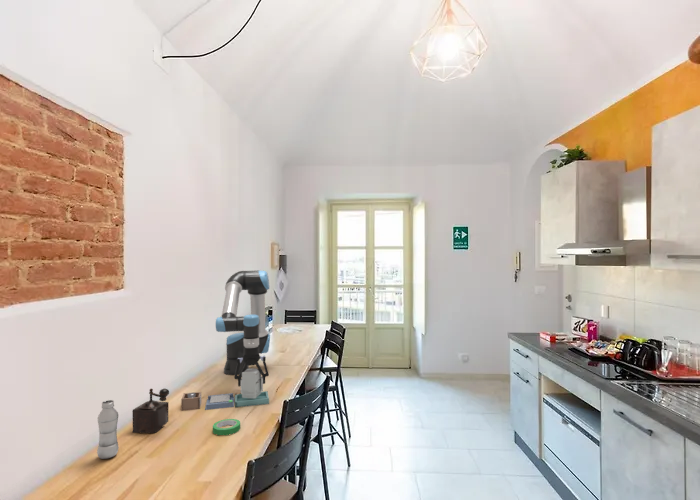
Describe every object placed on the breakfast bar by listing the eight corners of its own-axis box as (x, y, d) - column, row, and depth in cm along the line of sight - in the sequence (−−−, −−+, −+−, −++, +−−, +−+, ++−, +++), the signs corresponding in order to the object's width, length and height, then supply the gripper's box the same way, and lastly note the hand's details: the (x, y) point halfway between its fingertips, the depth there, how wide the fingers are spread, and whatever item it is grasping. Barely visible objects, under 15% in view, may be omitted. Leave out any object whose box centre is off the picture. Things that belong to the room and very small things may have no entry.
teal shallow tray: (235, 399, 199) (235, 394, 199) (267, 396, 204) (267, 391, 204) (235, 407, 189) (234, 402, 189) (268, 403, 193) (268, 398, 193)
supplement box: (255, 398, 192) (255, 372, 192) (241, 398, 193) (241, 372, 193) (261, 393, 199) (261, 368, 199) (248, 392, 200) (247, 367, 200)
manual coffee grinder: (130, 433, 163) (130, 389, 163) (146, 422, 174) (146, 381, 174) (165, 434, 161) (165, 390, 161) (180, 423, 172) (180, 381, 172)
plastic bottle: (103, 452, 147) (102, 399, 147) (122, 451, 147) (121, 398, 147) (93, 462, 140) (93, 405, 140) (113, 461, 141) (112, 404, 141)
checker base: (207, 401, 197) (207, 394, 197) (234, 398, 200) (234, 391, 200) (204, 411, 184) (204, 403, 184) (233, 408, 188) (233, 400, 188)
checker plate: (211, 398, 195) (211, 396, 195) (230, 396, 198) (230, 394, 198) (209, 405, 187) (209, 402, 187) (229, 402, 189) (229, 400, 189)
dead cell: (188, 405, 190) (188, 392, 190) (196, 404, 191) (196, 392, 191) (187, 408, 187) (187, 395, 187) (195, 407, 187) (195, 394, 188)
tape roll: (218, 424, 171) (218, 418, 171) (243, 424, 171) (243, 418, 171) (208, 436, 160) (208, 429, 160) (235, 436, 160) (235, 429, 160)
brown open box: (183, 405, 192) (183, 393, 192) (201, 404, 194) (201, 391, 194) (181, 412, 184) (181, 399, 184) (199, 410, 186) (199, 397, 186)
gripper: (228, 349, 190) (228, 396, 190) (274, 346, 196) (274, 391, 196) (228, 346, 197) (229, 391, 197) (273, 343, 203) (273, 386, 203)
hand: (251, 391), depth 196 cm, fingers closed on supplement box, 9 cm apart
